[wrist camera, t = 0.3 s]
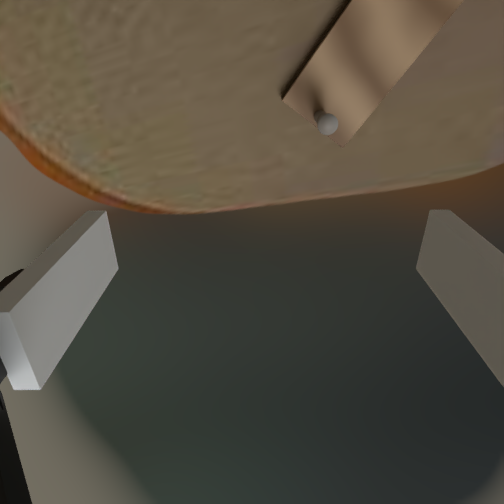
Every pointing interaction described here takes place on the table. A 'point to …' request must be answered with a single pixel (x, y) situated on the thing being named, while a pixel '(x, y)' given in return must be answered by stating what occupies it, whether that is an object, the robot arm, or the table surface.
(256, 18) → the table surface
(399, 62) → the rail
